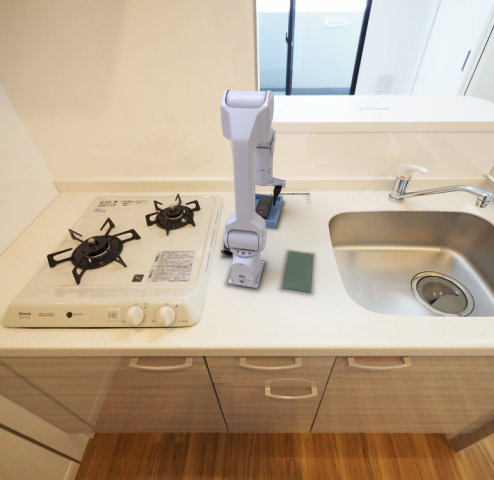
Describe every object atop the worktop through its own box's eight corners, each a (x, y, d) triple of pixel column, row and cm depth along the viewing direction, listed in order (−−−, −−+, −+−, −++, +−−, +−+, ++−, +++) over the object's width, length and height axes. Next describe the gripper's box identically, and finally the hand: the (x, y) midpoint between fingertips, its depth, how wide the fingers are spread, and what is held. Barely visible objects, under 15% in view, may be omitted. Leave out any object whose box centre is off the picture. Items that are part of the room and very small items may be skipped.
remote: (266, 222, 88) (266, 216, 86) (253, 221, 89) (253, 214, 87) (272, 202, 98) (272, 195, 96) (260, 200, 99) (261, 194, 97)
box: (275, 228, 87) (276, 222, 85) (242, 224, 89) (241, 218, 87) (282, 201, 99) (282, 196, 97) (252, 198, 101) (252, 192, 99)
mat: (309, 292, 67) (310, 291, 66) (282, 288, 68) (282, 287, 67) (312, 255, 77) (312, 254, 77) (289, 251, 78) (289, 250, 78)
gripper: (288, 163, 84) (285, 199, 93) (244, 159, 86) (246, 195, 95) (285, 173, 79) (282, 210, 88) (239, 169, 81) (241, 205, 90)
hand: (263, 203), depth 91 cm, fingers open, 7 cm apart
